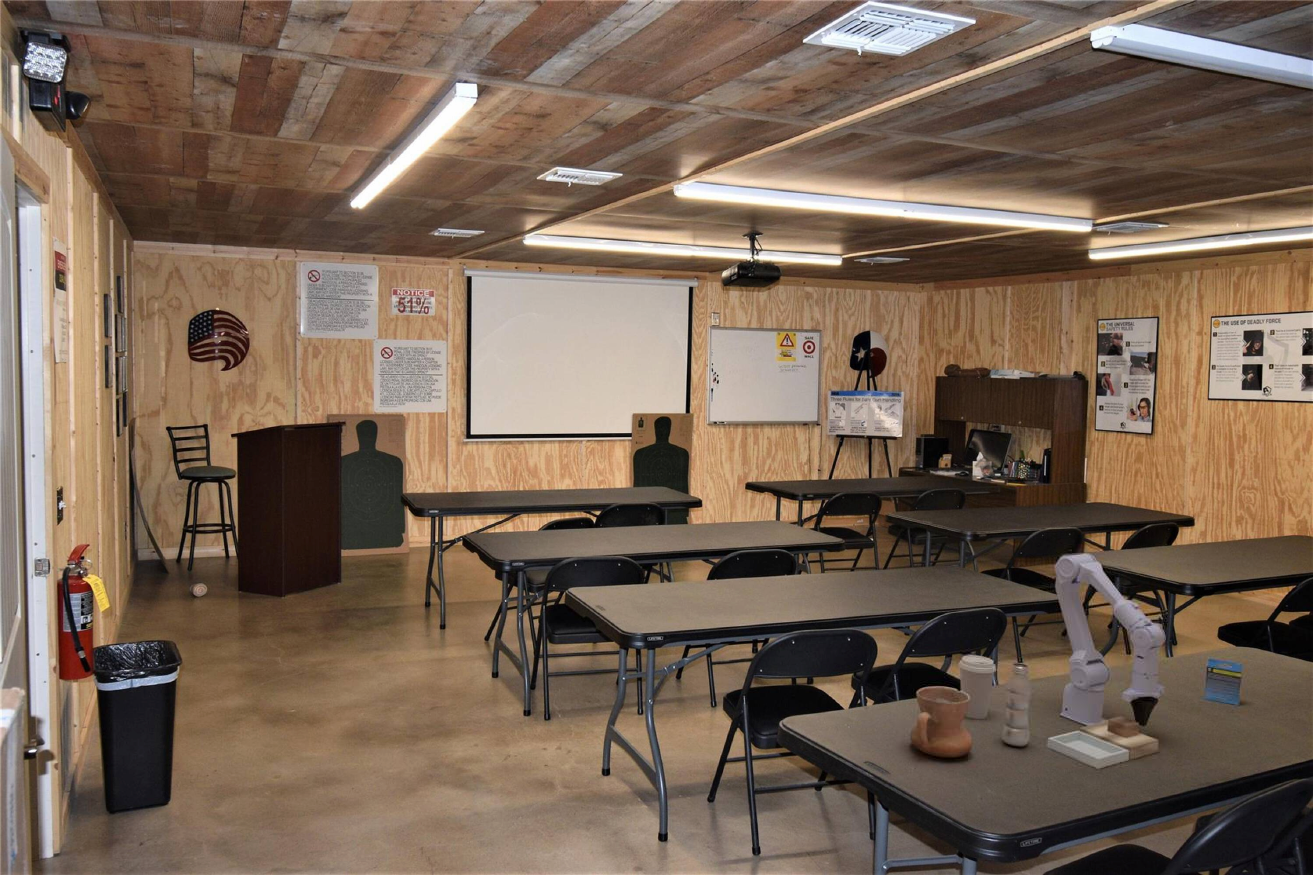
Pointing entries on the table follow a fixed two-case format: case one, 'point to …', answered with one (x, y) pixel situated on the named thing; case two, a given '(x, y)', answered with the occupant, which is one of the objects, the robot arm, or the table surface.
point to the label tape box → (1223, 681)
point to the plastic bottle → (1017, 706)
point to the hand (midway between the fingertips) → (1140, 724)
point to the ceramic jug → (942, 722)
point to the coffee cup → (977, 683)
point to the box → (1088, 749)
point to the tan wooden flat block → (1123, 740)
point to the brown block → (1123, 727)
